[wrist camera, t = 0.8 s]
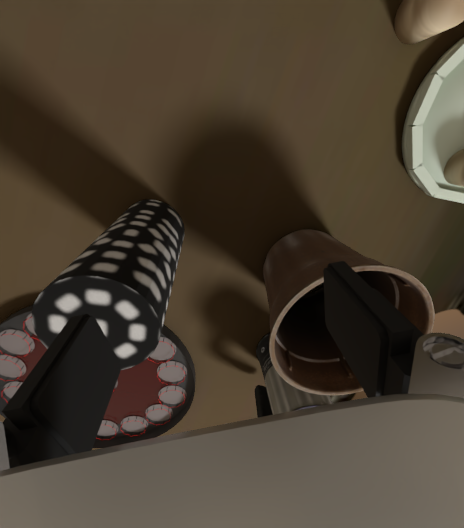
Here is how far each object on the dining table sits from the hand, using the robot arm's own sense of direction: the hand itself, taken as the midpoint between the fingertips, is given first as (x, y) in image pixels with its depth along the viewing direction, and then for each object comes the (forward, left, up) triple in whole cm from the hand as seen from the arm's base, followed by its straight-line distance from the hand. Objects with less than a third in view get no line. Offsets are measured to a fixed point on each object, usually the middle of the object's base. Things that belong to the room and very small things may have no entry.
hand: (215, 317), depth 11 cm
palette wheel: (+37, -15, -27) cm, 48 cm away
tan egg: (-21, +18, -26) cm, 38 cm away
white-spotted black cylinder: (+7, -7, -26) cm, 28 cm away
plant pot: (+9, +15, -26) cm, 32 cm away
